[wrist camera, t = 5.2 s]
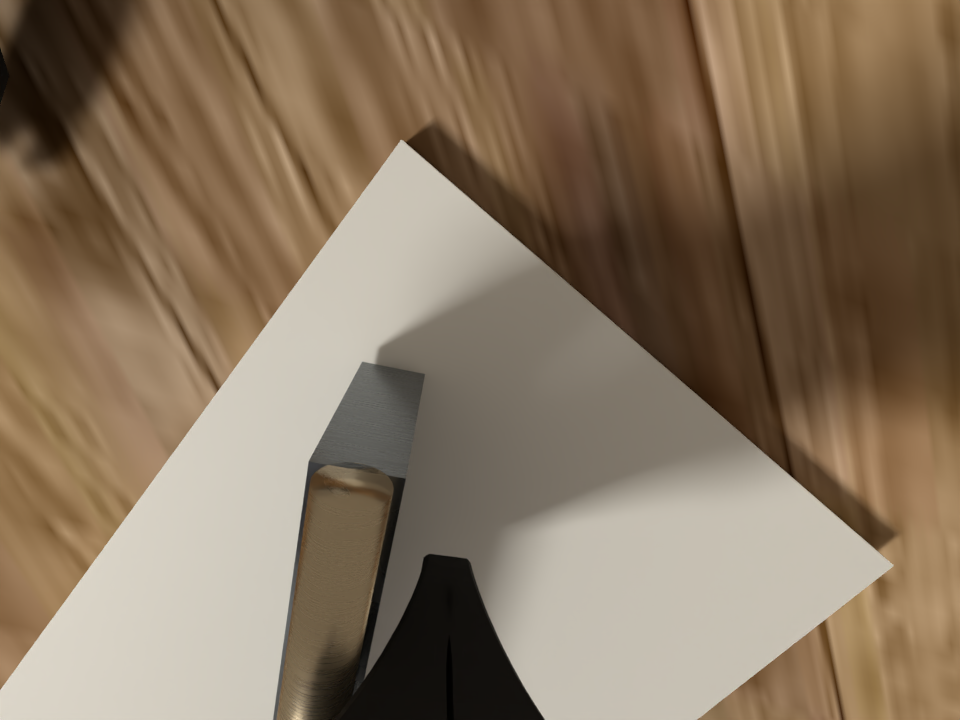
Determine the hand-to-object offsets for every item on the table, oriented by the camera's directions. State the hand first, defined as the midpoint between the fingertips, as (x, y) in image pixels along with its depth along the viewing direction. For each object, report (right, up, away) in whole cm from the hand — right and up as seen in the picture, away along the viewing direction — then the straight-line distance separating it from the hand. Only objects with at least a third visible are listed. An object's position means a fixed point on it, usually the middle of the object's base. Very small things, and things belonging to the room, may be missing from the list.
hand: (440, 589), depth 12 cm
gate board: (-2, -4, +4) cm, 6 cm away
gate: (-3, -1, +2) cm, 4 cm away
